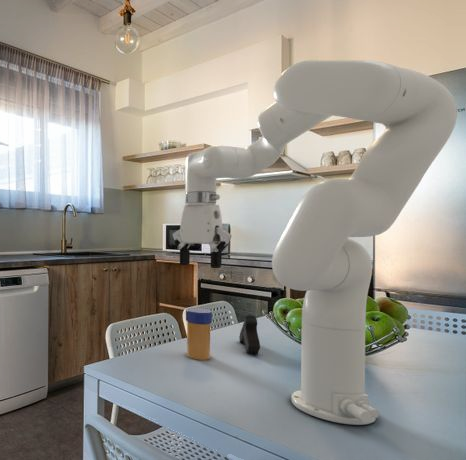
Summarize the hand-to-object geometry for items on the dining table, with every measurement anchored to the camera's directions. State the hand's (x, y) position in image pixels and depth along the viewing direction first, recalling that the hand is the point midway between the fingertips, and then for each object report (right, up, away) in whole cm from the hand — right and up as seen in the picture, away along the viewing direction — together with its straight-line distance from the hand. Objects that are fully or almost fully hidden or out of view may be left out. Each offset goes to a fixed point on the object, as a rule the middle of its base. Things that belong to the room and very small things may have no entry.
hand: (199, 266), depth 104 cm
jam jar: (0, -23, 0) cm, 23 cm away
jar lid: (0, -14, 0) cm, 14 cm away
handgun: (+16, -24, +7) cm, 30 cm away
